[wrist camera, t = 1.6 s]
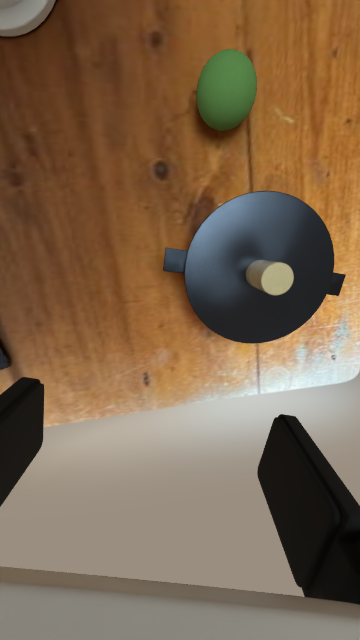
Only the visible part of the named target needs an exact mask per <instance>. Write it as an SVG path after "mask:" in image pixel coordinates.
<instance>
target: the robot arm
mask: <svg viewBox="0 0 360 640" xmlns="http://www.w3.org/2000/svg"><path fill="white" fill-rule="evenodd" d="M55 1H56V0H0V36H18V35H22V34H26V33H28V32H30V31H31V30H33V29H35V28H36V27H37V26H39V25H40V24H41V23H42V22H43V21H44V20H45V18H46V17H47V16H48V14H49V13H50V11H51V10H52V8H53V5H54V3H55ZM43 417H44V384H41V383H40V380H39V379H33V378H27V377H22V378H20V379H19V380H18V381H17V382H16V383H14V384H13V385H12V386H11V387H9V388H8V389H7V390H6V391H5V392H3V393H2V394H1V395H0V506H1V505H2V504H3V502H4V501H5V499H6V498H7V496H8V495H9V493H10V492H11V490H12V489H13V488H14V486H15V485H16V483H17V482H18V480H19V479H20V477H21V476H22V475H23V473H24V472H25V470H26V469H27V467H28V466H29V464H30V463H31V462H32V460H33V459H34V457H35V456H36V454H37V453H38V451H39V449H40V448H41V445H42V442H43ZM258 478H259V481H260V484H261V487H262V490H263V493H264V495H265V498H266V501H267V504H268V506H269V509H270V512H271V515H272V518H273V520H274V523H275V526H276V529H277V532H278V535H279V537H280V540H281V543H282V546H283V548H284V551H285V554H286V557H287V560H288V563H289V565H290V568H291V571H292V574H293V576H294V579H295V582H296V584H297V585H298V586H299V587H302V590H303V593H304V596H305V597H301V596H292V595H283V594H274V593H264V592H255V591H245V590H236V589H226V588H217V587H207V586H198V585H188V584H178V583H167V582H158V581H147V580H138V579H127V578H117V577H107V576H97V575H86V574H75V573H64V572H54V571H43V570H32V569H21V568H11V567H0V640H360V506H359V505H358V503H357V502H356V500H355V499H354V497H353V496H352V494H351V493H350V492H349V490H348V489H347V487H346V486H345V485H344V483H343V482H342V481H341V479H340V478H339V477H338V475H337V474H336V472H335V471H334V469H333V468H332V467H331V465H330V464H329V462H328V461H327V460H326V458H325V457H324V455H323V454H322V453H321V451H320V450H319V448H318V447H317V446H316V444H315V443H314V441H313V440H312V439H311V437H310V436H309V434H308V433H307V432H306V430H305V429H304V428H303V426H302V425H301V423H300V422H299V420H298V419H297V418H296V417H295V416H290V415H283V414H281V415H279V416H278V417H276V418H275V419H274V421H273V424H272V427H271V430H270V433H269V436H268V439H267V442H266V445H265V448H264V451H263V454H262V457H261V460H260V463H259V466H258Z"/></svg>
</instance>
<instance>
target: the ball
mask: <svg viewBox="0 0 360 640" xmlns="http://www.w3.org/2000/svg"><path fill="white" fill-rule="evenodd" d="M256 90H257V80H256V73H255V70H254V67H253V65H252V63H251V61H250V60H249V58H248V57H247V56H246V55H245V54H243V53H242V52H240V51H238V50H234V49H226V50H223V51H220V52H218V53H217V54H215V55H214V56H213V57H211V58H210V60H209V61H208V62H207V63H206V65H205V66H204V68H203V70H202V72H201V74H200V77H199V80H198V84H197V91H196V100H197V106H198V110H199V113H200V115H201V117H202V119H203V120H204V121H205V123H206V124H207V125H208V126H210V127H211V128H213V129H215V130H219V131H226V130H230V129H233V128H235V127H236V126H238V125H239V124H240V123H241V122H242V121H244V119H245V118H246V117H247V115H248V114H249V112H250V110H251V108H252V106H253V103H254V100H255V96H256Z"/></svg>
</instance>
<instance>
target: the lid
mask: <svg viewBox="0 0 360 640" xmlns="http://www.w3.org/2000/svg"><path fill="white" fill-rule="evenodd" d="M333 269H334V251H333V244H332V241H331V237H330V234H329V232H328V230H327V227H326V225H325V224H324V222H323V221H322V219H321V218H320V216H319V215H318V214H317V213H316V212H315V211H314V210H313V209H312V208H311V207H310V206H308V205H307V204H306V203H304V202H303V201H301V200H300V199H298V198H296V197H293V196H291V195H288V194H285V193H281V192H274V191H257V192H252V193H247V194H244V195H241V196H238V197H235V198H233V199H231V200H229V201H228V202H226V203H224V204H223V205H221V206H220V207H218V208H217V209H216V210H215V211H214V212H212V213H211V214H210V215H209V216H208V217H207V218H206V220H205V221H204V222H203V223H202V224H201V226H200V227H199V229H198V230H197V232H196V233H195V235H194V237H193V239H192V241H191V243H190V246H189V249H188V252H187V256H186V260H185V269H184V279H185V287H186V292H187V295H188V298H189V301H190V303H191V306H192V308H193V310H194V311H195V313H196V314H197V316H198V317H199V318H200V320H201V321H202V322H203V323H204V324H205V325H206V326H207V327H208V328H210V329H211V330H212V331H214V332H215V333H217V334H218V335H220V336H222V337H224V338H227V339H230V340H233V341H237V342H242V343H263V342H268V341H272V340H276V339H279V338H281V337H284V336H286V335H288V334H290V333H291V332H293V331H295V330H296V329H298V328H299V327H300V326H302V325H303V324H304V323H305V322H306V321H308V320H309V319H310V318H311V317H312V315H313V314H314V313H315V312H316V311H317V309H318V308H319V306H320V305H321V303H322V302H323V300H324V298H325V296H326V294H327V292H328V289H329V287H330V284H331V280H332V276H333Z"/></svg>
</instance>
